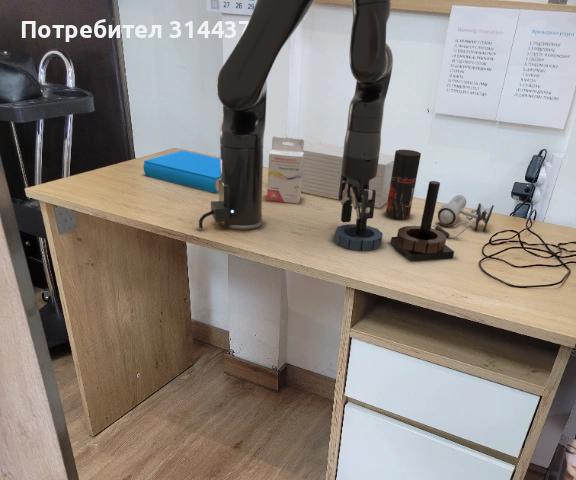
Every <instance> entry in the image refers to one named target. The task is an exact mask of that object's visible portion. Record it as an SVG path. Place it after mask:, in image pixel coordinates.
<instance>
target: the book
mask: <svg viewBox="0 0 576 480" xmlns="http://www.w3.org/2000/svg"><path fill="white" fill-rule="evenodd" d="M143 173H144V175H145V176H146V177H150V178H154V179H158V180H163V181H166V182H171V183H175V184H179V185H183V186H186V187H190V188H194V189H199V190H202V191H206V192H211V193H215V194H217V193H218V194H219V178H221V158H219V157H215V156H210V155H206V154H200V153H195V152H193V151H192V152H191V151H188V150H183V149H182V150H178V151H175V152H172V153H168V154H167V153H166V154H163V155H160V156H156V157H153V158H150V159H145V160H143Z"/></svg>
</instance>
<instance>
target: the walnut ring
mask: <svg viewBox="0 0 576 480" xmlns="http://www.w3.org/2000/svg"><path fill="white" fill-rule="evenodd" d="M420 226H421V225H405V226H402V227H400V228H398V229H397V233H396V234H397V235H396V237H397V240H396V243H397V244H398V245H399V246H400V247H403V248H404V249H407V250H410V251H414V252H419V253H425V252H426V253H437V252H439V251H441V250H443V249H444V247H445V245H446V242H447V238H446V235H445V234H444V233H442V232H441V231H439V230H436V229H435V228H434V227H431V230H430V235H429V240H421V239H416V238H418V237H419V232H420Z"/></svg>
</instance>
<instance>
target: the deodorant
mask: <svg viewBox="0 0 576 480" xmlns="http://www.w3.org/2000/svg"><path fill="white" fill-rule="evenodd" d="M394 156H395V158H394V164H393V170H392V177H391V183H390V189H389V196H388V202H387V203H386V209H385V216H386V217H387V218H389V219H392V220H398V221H405V220H408V219H410V216H411V210H412V206H413V200H414V194H415V189H416V183H417V178H418V173H419V172H418V171H419V168H420V167H419V166H420V162H421V156H422V153H421V152H419V151H417V150H412V149H397V150H395V152H394Z"/></svg>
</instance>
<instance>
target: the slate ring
mask: <svg viewBox="0 0 576 480" xmlns="http://www.w3.org/2000/svg"><path fill="white" fill-rule="evenodd" d="M355 228H356V223H349V224H342V225H339V226H337V227H336V229H335V232H334V238H333V239H334V242H335V243H336V244H337V245H338V247H342V248H345V249H347V250H348V249H349V250H352V251H360V252H366V251H374V250H376V249H379V248H380V247H381V246H382V241H383V235H384V234H383V232H382V231H381V230H379V229H378V228H376V227H374V226H371V225H367V224H366V232H365V235H363V236H357V235H356V234H355Z"/></svg>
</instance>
